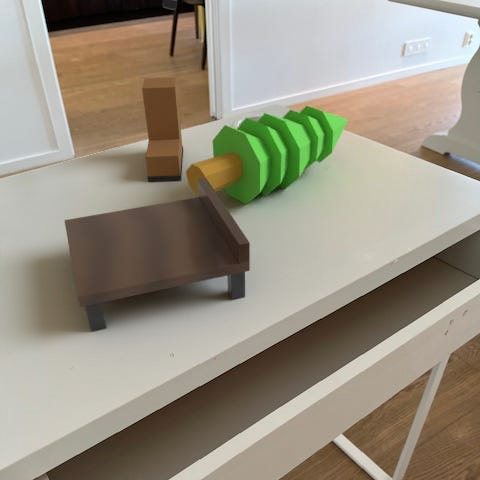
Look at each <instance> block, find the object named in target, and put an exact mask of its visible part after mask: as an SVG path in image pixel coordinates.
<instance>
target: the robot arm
mask: <svg viewBox="0 0 480 480" xmlns="http://www.w3.org/2000/svg"><path fill="white" fill-rule="evenodd" d="M161 5H162V7H163V9H168V10H172V11H175V10H176V9H177V7H178V0H162V2H161Z"/></svg>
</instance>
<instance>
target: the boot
mask: <svg viewBox="0 0 480 480" xmlns="http://www.w3.org/2000/svg"><path fill="white" fill-rule="evenodd" d="M141 90H142V100H143V107H144V114H145V121H146V129H147V137H148V142H147V146H146V147H147V148H146V153H145V157H144V158H145V162H146V171H147V172H146V173H147V182H148V183H151V182H152V183H154V182H181V181H182V176H183V175H182V174H183V161H184V146H183V139H182V138H183V137H182V126H181V115H180V114H181V113H180V104H179V94H178V93H179V92H178V79H177V77H175V76H173V77H145V78H144V80H143V83H142V87H141Z"/></svg>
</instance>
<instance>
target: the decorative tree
mask: <svg viewBox="0 0 480 480" xmlns="http://www.w3.org/2000/svg"><path fill="white" fill-rule="evenodd" d="M348 121H349V119H348V118H345V117H342V116H339V115H336V114H333V113H330V112H327V111H325V110H320V109H317V108H315V107H311V106H309V105H306V106H304V107H303V108H302V110H301V111H299V112H298V111H295V110H293V109H289V110H288V111H287V112H286V113H285V115H284V116H282V117H280V116H277V115H274V114H269V113H267V112H265V113H263V115H262V116H261V117H260V118H259V119H258V120H257V121H256V120H253V119H251V118H249V117H246V118H245V119H243V121H242V122H241V123H240V125H239V126H238V127H237V128H234V127H231V126H228V125H226V124H224V125H223V126H222V128H221V129H220V131H218V133H217V134H216V135H215V137H214V138H213V139H212V149H213V150H212V152H213V153H212V156H213V157H211V158H207V159H204V160H201V161H198V162H193V163H191V164H190V166H189V167H188V168H187V169H186V170H185V175H186V178H187V183H188V186H189V187H190V188H191V190H192V191H193V193H195V195H196V196H197V197H199V193H198V179H204V178H207V180H208V181H209V183H210V184H211V186H212V187H213V189H214V190H215V192H216V193H217V192H219V191H221V190H223V189H224V190H225V193H226V194H227V196H229V197H232V198H233V199H235V200H236V201H239V202H240V203H242V204H244V205H248V204H249V203H250V202H251V201H252V200H254V199H255V198H256V197H257V196H258V195H260V194H262V195H264V196H267V195H269V194H270V193H271V192H272V191H274V189H277V187H278V186H279V187H281V188H283V189H285V190H286V189H287V188H288V187H290V186H291V185H293V183H294V182H295V181H297V180H298V179H300V177H301V175H302V173H303V172H304V171H305V170H306V169H308V168H309V167H310V166H312V165H313V164H314V163H316V162H317V163H322V162H323V161H324V160H325V159H327V157H329V156H331V154H333V152H334V149H335V147H336V145H337V143H338V142H339V140H340V137H341V135H342V133H343V132H344V129H345V128H346V125H347V123H348Z"/></svg>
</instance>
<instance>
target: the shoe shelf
mask: <svg viewBox="0 0 480 480" xmlns="http://www.w3.org/2000/svg"><path fill="white" fill-rule="evenodd" d="M198 193H199V196H197V197H191V198H185V199H178V200H174V201H168V202H162V203H156V204H150V205H144V206H139V207H133V208H127V209H121V210H115V211H110V212H104V213H97V214H92V215H87V216H80V217H75V218H70V219H69V218H68V219H64V226H65V232H66V239H67V245H68V249H69V255H70V261H71V266H72V273H73V278H74V284H75V290H76V291H75V292H76V296H77V301H78V304H79V307H81V308H82V307H84V308H85V309H84V310H85V313H86V316H87V320H88V324H89V328H90V332H98V331H101V330H106V329H107V328H108V327H107V322H106V318H105V315H104V314H105V313H104V310H103V306H102V303H104V302H105V303H106V302H110V301H115V300H119V299H124V298H128V297H129V298H130V297H133V296H138V295H143V294H147V293H152V292H157V291H161V290H165V289H171V288H175V287H180V286H184V285H189V284H194V283H200V282H203V281H209V280H212V279H218V278H222V277H226V276H227V277H226V279H227V293H228V295H229V296H230V299H231V300H237V299H242V298H246V272H250V270H251V265H250V264H251V258H250V257H251V253H250V252H251V250H250V249H251V248H250V247H251V245H250V244H251V243H250V241H249V239H248V237H247V236H246V234H244V232H243V230H242V229H241V228H240V226H239V224H238V222H236V219H234V217H233V216H232V214H231V212H230V211H229V209H228V208H227V206H226V204H224V202H223V201H222V199H221V198H220V196H219V195H218V193H217V192H215V190H214V189H213V187H212V186H211V184H210V183H209V181H208V180H207V178H204V179H198Z"/></svg>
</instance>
